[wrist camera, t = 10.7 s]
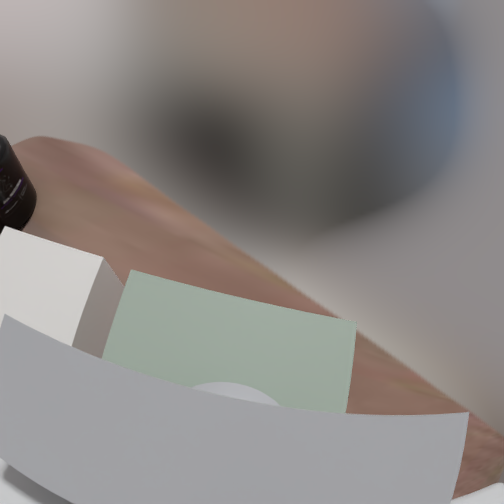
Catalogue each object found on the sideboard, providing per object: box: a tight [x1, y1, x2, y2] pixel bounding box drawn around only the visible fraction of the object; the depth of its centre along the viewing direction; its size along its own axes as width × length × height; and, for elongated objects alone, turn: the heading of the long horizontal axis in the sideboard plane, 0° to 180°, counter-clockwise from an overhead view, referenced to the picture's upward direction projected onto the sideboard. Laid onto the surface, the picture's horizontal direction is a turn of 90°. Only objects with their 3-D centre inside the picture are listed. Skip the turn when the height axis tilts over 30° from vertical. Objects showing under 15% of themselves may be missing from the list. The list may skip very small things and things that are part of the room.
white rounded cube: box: [0, 226, 125, 359], centre depth 17 cm, size 10×10×7 cm
